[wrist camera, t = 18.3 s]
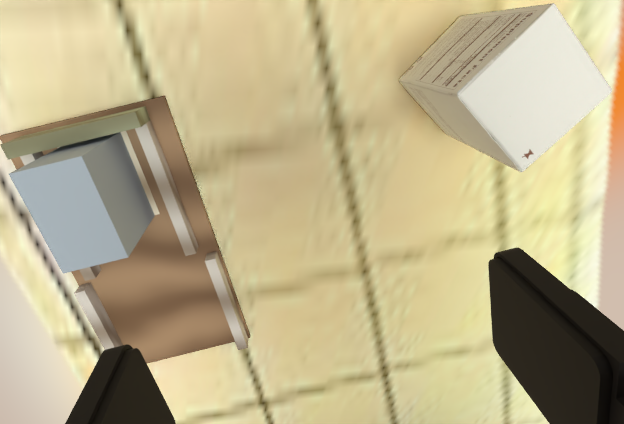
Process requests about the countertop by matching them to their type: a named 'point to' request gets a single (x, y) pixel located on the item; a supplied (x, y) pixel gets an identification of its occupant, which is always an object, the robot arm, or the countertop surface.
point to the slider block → (86, 201)
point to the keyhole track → (150, 242)
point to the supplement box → (507, 82)
